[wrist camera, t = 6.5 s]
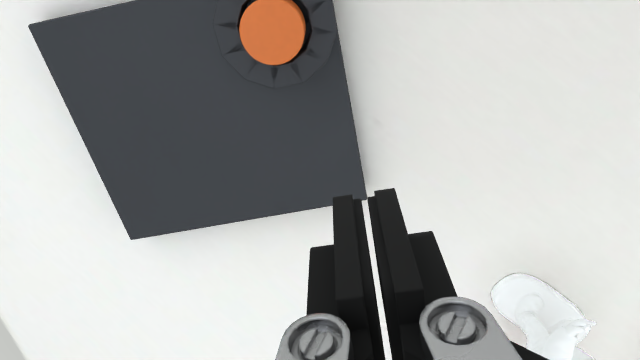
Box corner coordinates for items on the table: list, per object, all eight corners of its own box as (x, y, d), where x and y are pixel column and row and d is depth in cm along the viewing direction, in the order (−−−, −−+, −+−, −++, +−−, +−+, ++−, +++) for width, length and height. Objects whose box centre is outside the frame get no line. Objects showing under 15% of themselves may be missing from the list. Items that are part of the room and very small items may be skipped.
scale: (323, -52, 23) (323, -53, 20) (365, 187, 29) (370, 215, 26) (41, 12, 24) (0, 20, 21) (139, 226, 31) (119, 257, 28)
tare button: (298, -12, 21) (296, -10, 19) (311, 51, 22) (310, 58, 21) (237, 1, 21) (231, 5, 20) (254, 62, 23) (249, 71, 21)
